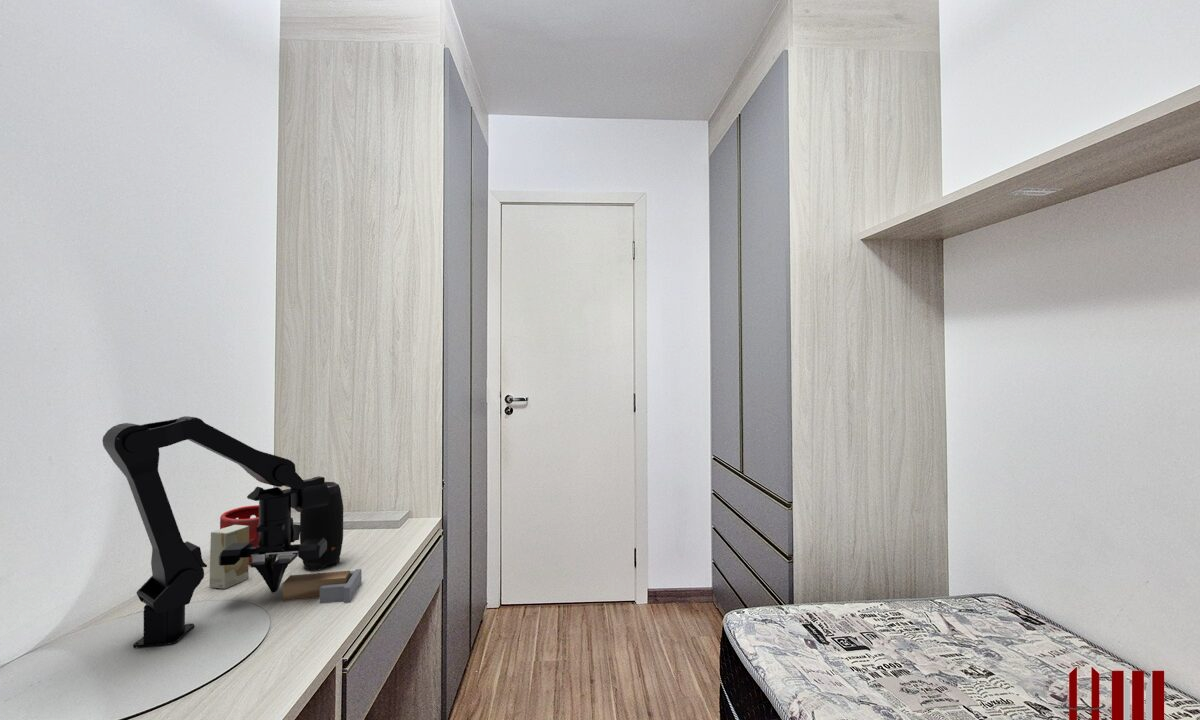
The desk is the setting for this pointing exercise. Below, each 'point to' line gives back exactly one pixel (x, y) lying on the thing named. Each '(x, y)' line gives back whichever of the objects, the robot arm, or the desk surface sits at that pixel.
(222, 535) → the skincare box
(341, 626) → the desk surface
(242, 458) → the robot arm
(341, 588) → the end cap
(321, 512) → the portable speaker
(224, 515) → the plant pot
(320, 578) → the brown wooden block
